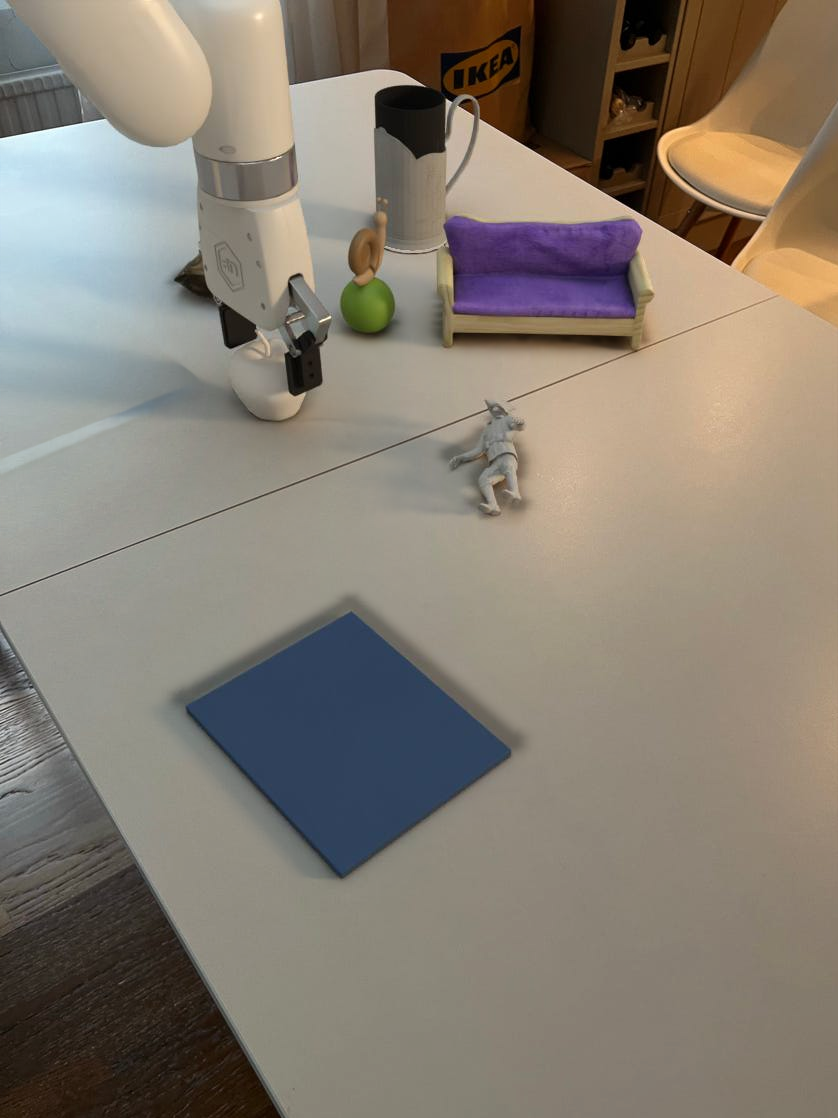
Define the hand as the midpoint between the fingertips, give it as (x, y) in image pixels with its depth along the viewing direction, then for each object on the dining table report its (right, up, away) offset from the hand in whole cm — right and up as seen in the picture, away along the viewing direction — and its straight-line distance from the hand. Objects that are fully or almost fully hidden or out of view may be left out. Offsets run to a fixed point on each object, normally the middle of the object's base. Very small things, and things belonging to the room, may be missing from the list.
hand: (273, 365), depth 91 cm
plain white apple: (0, -3, +3) cm, 5 cm away
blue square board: (+9, -30, -22) cm, 39 cm away
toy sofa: (+24, +8, +15) cm, 30 cm away
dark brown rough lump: (-8, +12, +18) cm, 23 cm away
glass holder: (+12, +24, +30) cm, 40 cm away
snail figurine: (+7, +7, +14) cm, 17 cm away
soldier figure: (+20, -10, -2) cm, 22 cm away
